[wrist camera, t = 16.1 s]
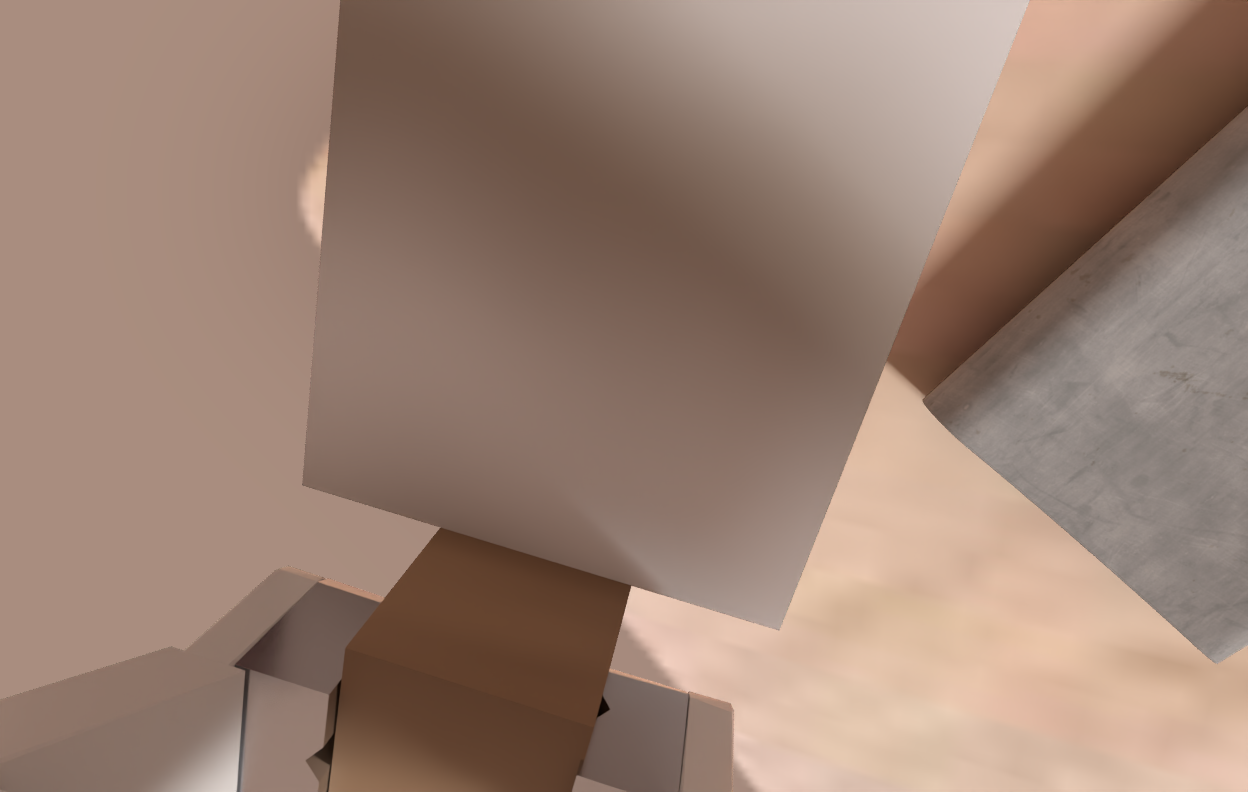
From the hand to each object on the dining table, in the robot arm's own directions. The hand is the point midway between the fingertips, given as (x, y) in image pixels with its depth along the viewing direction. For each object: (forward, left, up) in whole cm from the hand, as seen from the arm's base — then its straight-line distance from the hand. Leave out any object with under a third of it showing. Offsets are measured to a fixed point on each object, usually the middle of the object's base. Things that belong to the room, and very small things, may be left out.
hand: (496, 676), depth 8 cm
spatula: (0, 0, -2) cm, 2 cm away
